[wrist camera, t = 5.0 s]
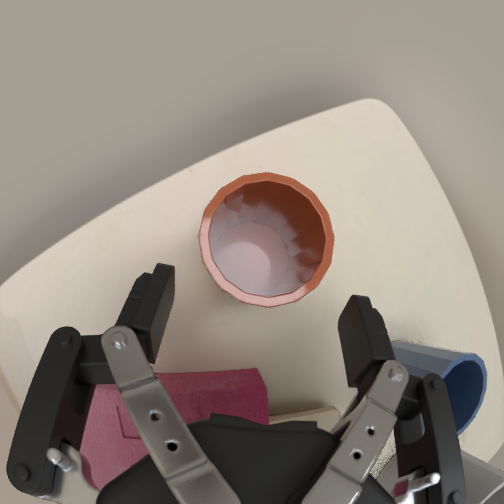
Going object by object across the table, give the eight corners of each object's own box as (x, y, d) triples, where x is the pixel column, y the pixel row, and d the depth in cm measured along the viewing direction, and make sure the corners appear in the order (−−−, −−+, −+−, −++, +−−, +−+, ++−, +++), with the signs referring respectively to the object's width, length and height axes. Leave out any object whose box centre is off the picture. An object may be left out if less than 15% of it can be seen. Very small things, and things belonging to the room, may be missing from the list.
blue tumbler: (366, 417, 20) (422, 458, 12) (358, 353, 21) (423, 377, 13) (421, 391, 21) (484, 416, 13) (417, 331, 22) (487, 339, 13)
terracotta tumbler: (217, 309, 21) (213, 318, 12) (201, 226, 21) (190, 183, 13) (299, 292, 21) (345, 289, 13) (282, 212, 22) (316, 166, 14)
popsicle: (325, 357, 21) (73, 368, 19) (351, 372, 16) (42, 382, 14) (327, 455, 20) (96, 463, 17) (347, 483, 15) (76, 489, 13)
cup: (455, 433, 21) (530, 466, 9) (422, 497, 19) (480, 542, 7) (396, 437, 20) (479, 492, 8) (360, 507, 19) (414, 574, 7)
